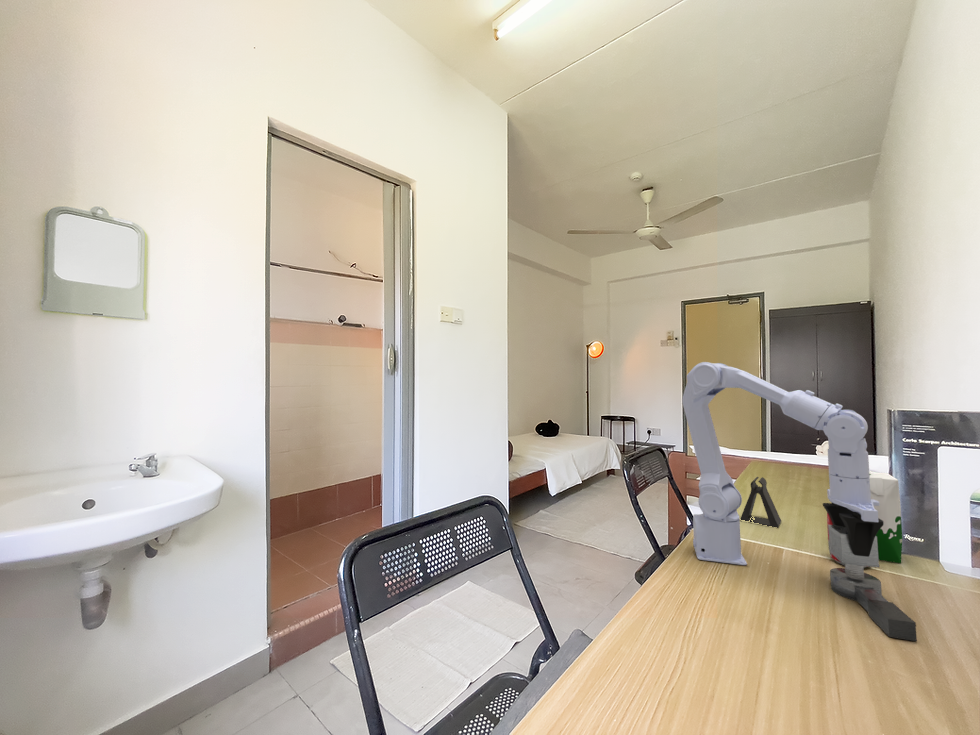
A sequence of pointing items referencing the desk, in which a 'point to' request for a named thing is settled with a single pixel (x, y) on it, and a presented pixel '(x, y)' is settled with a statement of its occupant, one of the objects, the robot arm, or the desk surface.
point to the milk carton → (887, 516)
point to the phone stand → (767, 502)
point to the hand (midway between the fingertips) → (853, 549)
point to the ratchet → (872, 600)
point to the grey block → (849, 548)
